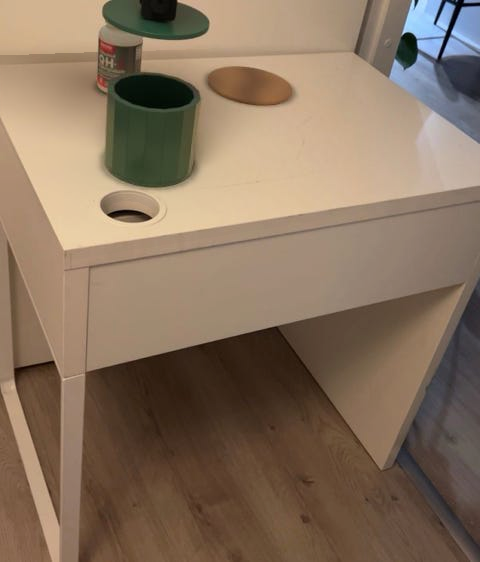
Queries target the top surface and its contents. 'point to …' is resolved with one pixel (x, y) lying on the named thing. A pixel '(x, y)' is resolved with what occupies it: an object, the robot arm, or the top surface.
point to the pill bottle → (117, 54)
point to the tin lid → (155, 21)
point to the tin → (151, 128)
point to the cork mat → (249, 85)
